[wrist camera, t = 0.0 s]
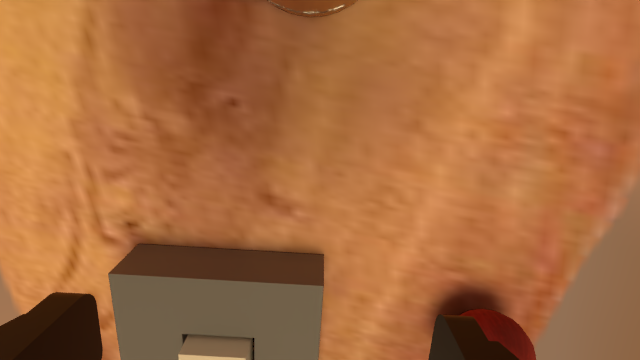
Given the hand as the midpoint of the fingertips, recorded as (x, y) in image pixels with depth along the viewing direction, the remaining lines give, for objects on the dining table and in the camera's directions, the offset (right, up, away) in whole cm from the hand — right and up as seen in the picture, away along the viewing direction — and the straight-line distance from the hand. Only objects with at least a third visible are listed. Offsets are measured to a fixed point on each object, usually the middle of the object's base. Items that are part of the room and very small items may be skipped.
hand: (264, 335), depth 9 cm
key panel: (-6, -14, +23) cm, 27 cm away
